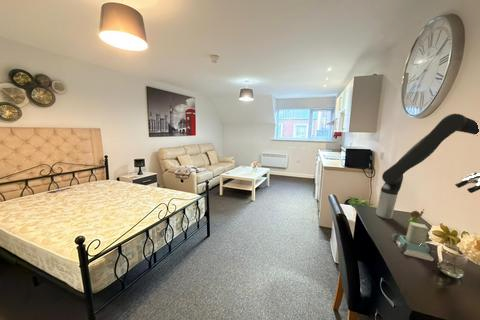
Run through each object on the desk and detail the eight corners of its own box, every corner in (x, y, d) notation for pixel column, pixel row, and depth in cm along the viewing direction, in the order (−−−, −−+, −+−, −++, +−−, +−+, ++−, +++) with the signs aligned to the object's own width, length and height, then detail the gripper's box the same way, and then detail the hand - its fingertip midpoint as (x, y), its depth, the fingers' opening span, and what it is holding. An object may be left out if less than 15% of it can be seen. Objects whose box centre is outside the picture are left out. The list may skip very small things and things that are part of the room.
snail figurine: (422, 229, 121) (427, 211, 119) (410, 227, 122) (415, 209, 120) (416, 225, 127) (421, 207, 124) (405, 223, 128) (409, 206, 125)
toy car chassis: (391, 238, 108) (393, 231, 107) (420, 245, 104) (422, 237, 103) (401, 253, 95) (404, 245, 94) (435, 261, 91) (438, 253, 90)
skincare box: (419, 246, 99) (425, 224, 97) (422, 251, 95) (429, 228, 93) (403, 242, 102) (409, 221, 100) (406, 247, 98) (412, 224, 96)
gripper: (484, 160, 97) (447, 179, 103) (510, 166, 84) (467, 186, 90) (495, 172, 97) (458, 190, 103) (523, 180, 83) (479, 199, 89)
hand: (462, 188), depth 96 cm, fingers open, 8 cm apart
